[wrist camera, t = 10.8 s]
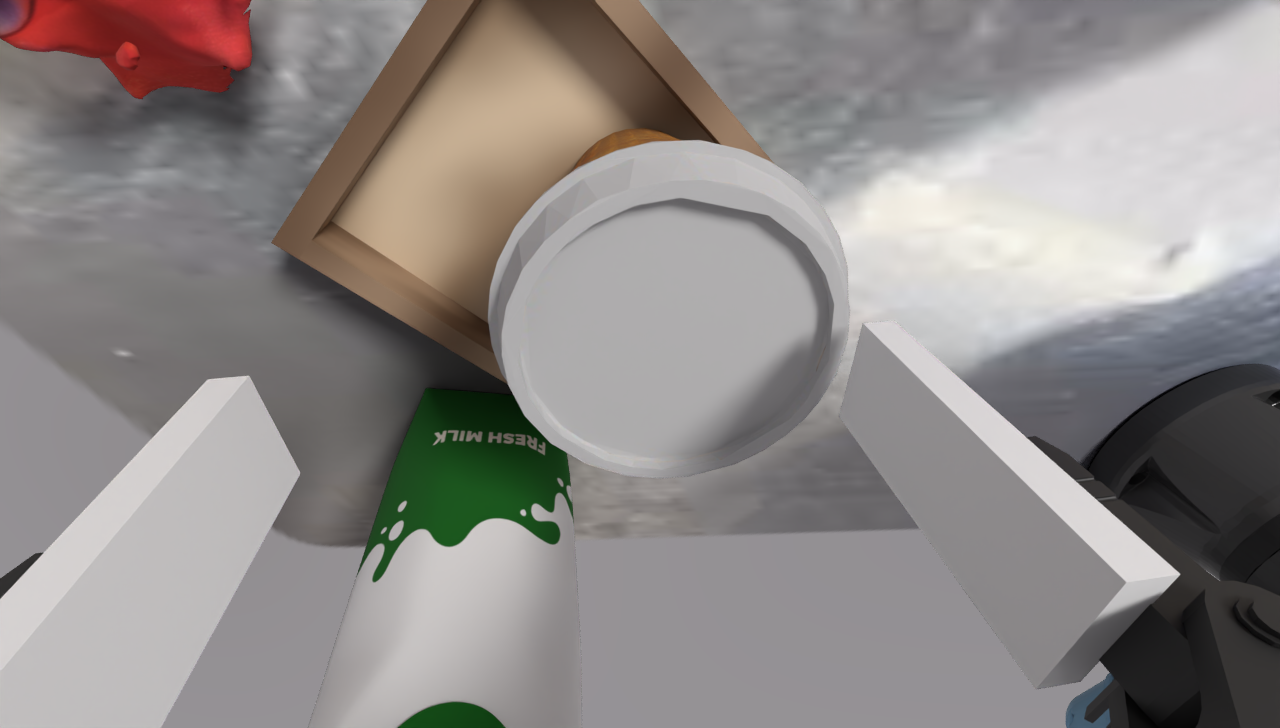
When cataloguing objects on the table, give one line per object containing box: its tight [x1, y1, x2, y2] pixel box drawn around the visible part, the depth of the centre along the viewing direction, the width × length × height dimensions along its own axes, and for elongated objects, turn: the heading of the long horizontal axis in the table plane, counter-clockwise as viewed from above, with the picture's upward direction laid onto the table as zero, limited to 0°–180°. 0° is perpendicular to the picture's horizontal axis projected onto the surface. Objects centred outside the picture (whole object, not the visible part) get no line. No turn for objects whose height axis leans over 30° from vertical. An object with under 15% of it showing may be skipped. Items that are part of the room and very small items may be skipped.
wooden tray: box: [271, 0, 774, 384], centre depth 22 cm, size 15×15×3 cm
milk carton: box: [308, 388, 582, 728], centre depth 22 cm, size 9×9×20 cm
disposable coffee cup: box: [488, 128, 850, 478], centre depth 18 cm, size 10×10×12 cm
